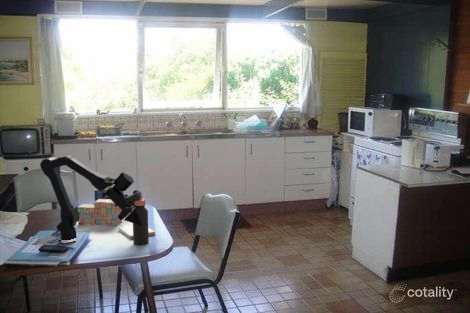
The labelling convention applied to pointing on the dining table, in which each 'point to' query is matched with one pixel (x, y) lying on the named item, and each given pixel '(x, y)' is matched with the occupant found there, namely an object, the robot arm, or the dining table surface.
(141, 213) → the vinegar
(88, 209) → the stack of blocks
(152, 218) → the dining table surface
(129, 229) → the white flat block
